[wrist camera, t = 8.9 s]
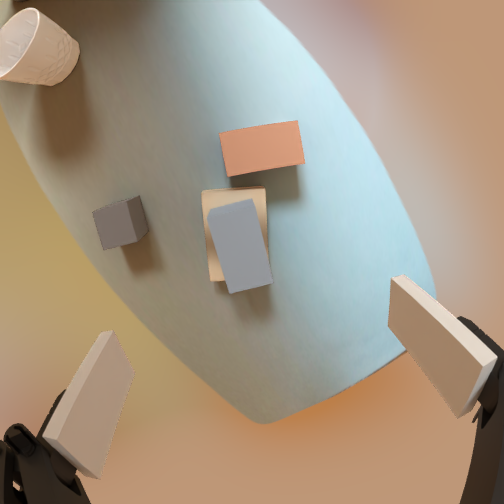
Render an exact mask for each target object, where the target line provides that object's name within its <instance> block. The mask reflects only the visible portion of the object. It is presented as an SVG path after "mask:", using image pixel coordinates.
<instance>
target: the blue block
mask: <svg viewBox="0 0 504 504" xmlns="http://www.w3.org/2000/svg"><path fill="white" fill-rule="evenodd" d="M207 222H208V225H209V228H210V232H211V235H212V239H213V242H214V245H215V249H216V252H217V255H218V259H219V262H220V265H221V268H222V272H223V275H224V278H225V281H226V284H227V288H228V291H229V294H231V293H235V292H239V291H243V290H248V289H252V288H256V287H260V286H264V285H268V284H272V283H274V282H273V278H272V274H271V269H270V265H269V261H268V257H267V253H266V248H265V244H264V240H263V236H262V232H261V228H260V224H259V220H258V216H257V211H256V207H255V204H254V202H253V200H252V198H251V199H247V200H243V201H239V202H235V203H232V204H228V205H224V206H220V207H216V208H213V209H210V211H209V214H208V216H207Z"/></svg>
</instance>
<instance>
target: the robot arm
mask: <svg viewBox="0 0 504 504" xmlns="http://www.w3.org/2000/svg"><path fill="white" fill-rule="evenodd" d="M15 1H17V2H23V1H27V0H15ZM388 327H389V328H390V330H391V331H392V332H393V333H394V335H395V336H396V337H397V338H398V340H399V341H400V342H401V343H402V345H403V346H404V347H405V348H406V350H407V351H408V352H409V354H410V355H411V356H412V357H413V359H414V360H415V361H416V363H417V364H418V365H419V367H420V368H421V369H422V370H423V372H424V373H425V374H426V376H427V377H428V378H429V380H430V381H431V383H432V384H433V385H434V387H435V388H436V389H437V391H438V392H439V393H440V395H441V396H442V398H443V399H444V400H445V402H446V403H447V405H448V406H449V407H450V409H451V410H452V412H453V413H454V415H455V416H456V417H457V419H458V418H460V417H462V416H463V415H465V414H466V413H468V412H470V411H471V410H472V409H473V407H474V406H475V404H476V402H477V400H478V401H479V402H480V403H481V406H480V408H479V410H478V411H477V413H476V415H475V416H474V418H473V421H472V423H474V422H475V421H476V419H477V418H478V424H477V431H476V437H475V444H474V449H473V454H472V459H471V464H470V468H469V472H468V476H467V481H466V484H465V487H464V491H463V494H462V498H461V501H460V504H504V350H503V349H501V348H500V346H498V345H497V344H496V343H495V342H494V341H493V340H492V339H491V338H490V337H489V336H487V335H485V333H484V332H483V331H482V330H481V329H479V328H478V327H477V326H476V325H475V324H474V323H473V322H472V321H471V320H468V319H466V318H464V317H462V316H460V317H458V318H456V317H455V316H453V315H452V314H451V313H450V312H449V311H448V310H446V309H445V308H444V307H443V306H442V305H441V304H439V303H438V302H437V301H436V300H435V299H434V298H432V297H431V296H430V295H429V294H428V293H426V292H425V291H424V290H423V289H422V288H420V287H419V286H418V285H417V284H415V283H414V282H413V281H412V280H411V279H409V278H408V277H407V276H406V275H400V276H396V277H393V278H391V287H390V305H389V318H388ZM134 375H135V371H134V369H133V368H132V366H131V364H130V362H129V361H128V358H127V356H126V354H125V352H124V351H123V349H122V347H121V345H120V343H119V341H118V338H117V337H116V334H115V332H114V331H104V332H101V333H100V334H99V336H98V338H97V339H96V341H95V342H94V344H93V345H92V347H91V349H90V350H89V352H88V353H87V355H86V357H85V359H84V361H83V362H82V363H81V365H80V367H79V368H78V370H77V372H76V374H75V375H74V377H73V379H72V381H71V383H70V384H69V386H68V388H67V389H65V390H64V391H63V392H62V393H61V394H60V395H59V396H58V397H57V399H56V400H55V402H54V404H53V407H52V408H51V409H50V412H49V414H48V415H47V417H46V419H45V421H44V423H43V425H42V427H41V429H40V431H39V433H38V435H37V437H35V436H34V435H33V434H32V433H31V432H30V431H29V430H28V429H27V428H26V427H25V426H24V425H23V424H19V423H17V424H13V425H12V426H11V427H9V428H8V430H7V431H6V432H5V435H4V442H3V441H2V440H0V504H91V503H90V501H89V499H88V497H87V495H86V492H85V490H84V488H83V486H82V484H81V481H80V479H79V478H78V476H77V475H75V473H76V470H79V471H80V472H81V473H82V474H83V475H85V476H87V477H91V478H95V479H101V476H102V472H103V468H104V465H105V462H106V458H107V455H108V452H109V448H110V445H111V442H112V439H113V436H114V433H115V429H116V427H117V424H118V420H119V417H120V415H121V412H122V409H123V406H124V403H125V400H126V397H127V395H128V392H129V389H130V386H131V384H132V381H133V378H134ZM13 481H14V482H15V483H16V484H18V485H19V486H20V490H19V491H18V490H17V489H16V488H14V487H13Z"/></svg>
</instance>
